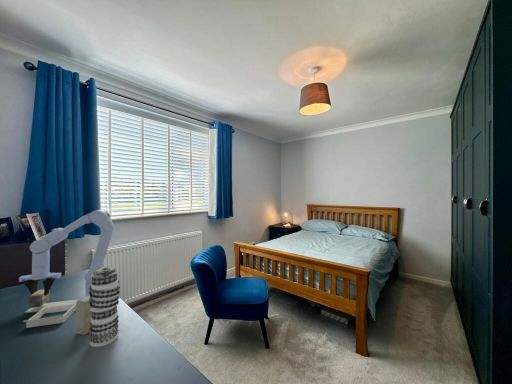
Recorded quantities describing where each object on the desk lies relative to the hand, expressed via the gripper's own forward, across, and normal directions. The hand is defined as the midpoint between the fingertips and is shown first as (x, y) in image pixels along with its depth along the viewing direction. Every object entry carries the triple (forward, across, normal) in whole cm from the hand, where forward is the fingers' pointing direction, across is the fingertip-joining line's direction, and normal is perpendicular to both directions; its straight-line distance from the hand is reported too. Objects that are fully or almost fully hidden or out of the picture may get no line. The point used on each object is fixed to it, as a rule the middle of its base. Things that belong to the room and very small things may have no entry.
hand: (40, 295), depth 99 cm
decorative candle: (+6, +36, -33) cm, 49 cm away
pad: (+6, 0, 0) cm, 6 cm away
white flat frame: (+6, +10, -12) cm, 17 cm away
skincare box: (+6, +28, -25) cm, 38 cm away
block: (+3, 0, 0) cm, 4 cm away
